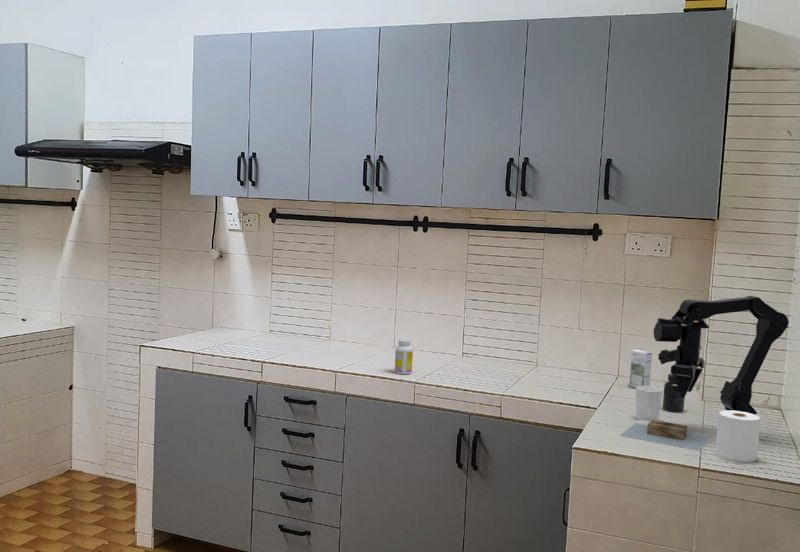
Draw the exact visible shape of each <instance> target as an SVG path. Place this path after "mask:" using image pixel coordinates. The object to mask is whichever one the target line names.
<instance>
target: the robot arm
mask: <svg viewBox="0 0 800 552" xmlns="http://www.w3.org/2000/svg"><path fill="white" fill-rule="evenodd" d="M747 311H749V312H750V313H751V314H752V316H753V317H754V318H756V319H757V321H756V325H755V334H756V335H755V337H754V340H753V342H752V344H751V346H750V348H749V350H748V352H747V355H746V357H745V358H744V361H743V363H742V365H741V367H740V369H739V370H738V373H737V375H736V377H735V378H734V379H733V380H732V381H725V383H724V384H723V388H722V389H721V391H720V392H719V393H720V397H719V398H720V401H721V404H722V406H724V410H735V411H741V412H748V413H751V414H754V415H758V412H757V410H755V408H754V407H753V406H752V404H750V403H751V401H752V396H753V395H752V394H753V393H752V392H753V391H752V389H753V388H752V386H753V384H754V382H755V380H756V378H757V376H758V374H759V371H760V369H761V367H762V366H763V363H764V361H765V360H766V357H767V355H768V353H769V351H770V349H771V347H772V345H773V344H774V342H775V341H777V340H778V339H779V338H780V337H782V336H783V335H784V332H785V331H786V330H787V328H788V326H789V323H790V321H789V318H788V316H787V315H786V314H785V313H783V312H779V311H778V310H776V309H775V308H773V307H772V306H770V305H769V304H768V303H766V302H765V301H763V300H762V299H761V298H760V297H759V296H755V295H748V296H744V297H743V296H742V297H736V298H726V299H719V300H718V299H717V300H701V299H688V298H687V299H685V300H683V301H682V303H681V304H680V306H679V309H678V310H677V311H676V312H675V314H674V315H672V316H671V319H670V318H669V319H668V318H661V317H658V318H657V322H656V323H655V326H654V327H653V336H654V337H653V339H654V340H655V341H656V342H661V343H662V342H664V343H665V342H667V343H677V342H678V341H679V345H677V346H676V349H671V350H668V349H663V350H660V353H658V358H657V359H658V360H659V362H660V365H665V364H666V363H671V362H675V363H674V364H673V365H671V367H670V374H672V375H673V376H674V377H675V378H676V379H677V380H678V385H679V390H680V396H681V397H685V398H686V395H687V394H688V393H691V392H692V391H693V389H694V388H695V385H696V384H697V381H698V379H699V378H700V376H701V374H702V373H703V370H704V368H705V363H706V361H705V360H704V359H703V357H700V354H701V353H700V351H701V350H702V345H701V339H702V338H701V337H702V329H710V326H709V325H708V324H707V323H706V322H705V320H706V319H709V318H711V317H713V316H716V315H722V314H730V313H739V312H747Z"/></svg>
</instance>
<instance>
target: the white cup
mask: <svg viewBox="0 0 800 552" xmlns="http://www.w3.org/2000/svg"><path fill="white" fill-rule="evenodd" d="M635 390H636V391H635V418H636V419H637V420H638V421H647V422H648V421H649V422H651V421H652V420H657V421H659V415H660V410H661V404H662V397H663V396H662V395H663V389H662V388H659V387H657V386H652V385H650V386H637V387H636V389H635Z"/></svg>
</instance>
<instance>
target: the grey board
mask: <svg viewBox="0 0 800 552" xmlns="http://www.w3.org/2000/svg"><path fill="white" fill-rule="evenodd" d="M647 428H648V424H645V423H639V422H635V423H633V424H632V425H631V426H630V427H628V428H627V429H626V430H624V432H622V433H621V434H620V435H619V436H620V437H624V438H629V439H634V440H640V441H644V442H649V443H650V442H651V443H655V444H660V445H666V446H672V447H676V448H677V447H678V448H682V449H683V448H684V449H686V450H687V449H688V450H691V451H692V450H694V451H699V452H700V451H701V450H702V449H703V447H704V446H705V445H706V444H707V442H708V441H709V440H710V439H711V438H712V436H711V435H707V434H701V433H696V432H695V433H694V432H690V431H689V432H688V431H687V436H686V437H685V438H684V439H683V440H677V439H672V438H667V437H661V436H656V435H650V434H647Z"/></svg>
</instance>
